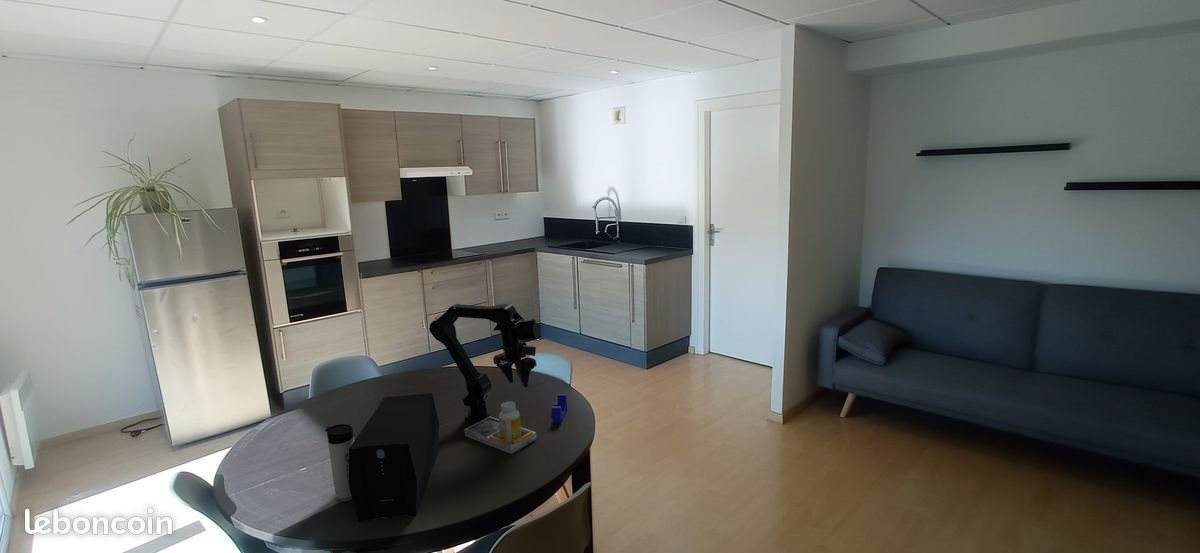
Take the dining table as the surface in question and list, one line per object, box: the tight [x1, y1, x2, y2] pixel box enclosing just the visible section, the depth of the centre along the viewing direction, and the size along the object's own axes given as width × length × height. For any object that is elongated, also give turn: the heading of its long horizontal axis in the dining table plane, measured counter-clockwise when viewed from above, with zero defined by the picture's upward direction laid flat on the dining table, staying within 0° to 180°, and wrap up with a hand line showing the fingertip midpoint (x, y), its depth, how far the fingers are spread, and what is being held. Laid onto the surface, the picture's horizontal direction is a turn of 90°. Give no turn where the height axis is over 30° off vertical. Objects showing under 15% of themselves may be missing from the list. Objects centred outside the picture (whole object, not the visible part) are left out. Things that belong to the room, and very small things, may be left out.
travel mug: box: [325, 423, 355, 502], centre depth 146 cm, size 6×7×20 cm
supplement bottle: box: [498, 401, 522, 445], centre depth 173 cm, size 7×7×13 cm
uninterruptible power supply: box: [349, 392, 440, 523], centre depth 152 cm, size 16×34×20 cm, turn 7°
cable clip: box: [551, 393, 568, 425], centre depth 192 cm, size 12×4×6 cm, turn 173°
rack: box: [463, 416, 537, 455], centre depth 177 cm, size 22×11×3 cm, turn 53°
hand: (518, 384), depth 186 cm, fingers open, 9 cm apart
